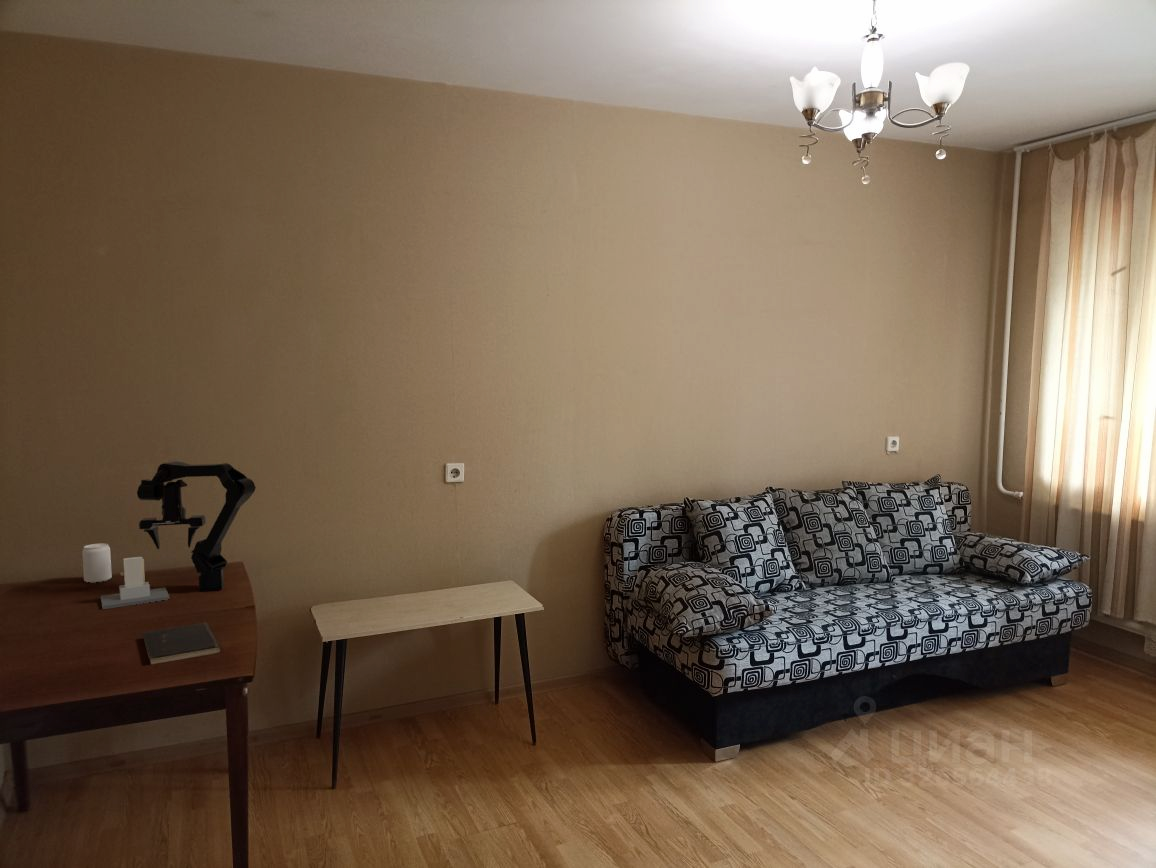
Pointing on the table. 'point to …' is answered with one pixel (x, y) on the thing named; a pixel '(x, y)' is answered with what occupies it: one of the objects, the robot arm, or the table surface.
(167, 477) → the robot arm
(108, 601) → the grey base plate
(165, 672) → the table surface
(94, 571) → the beverage can
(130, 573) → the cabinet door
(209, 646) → the hardcover book
